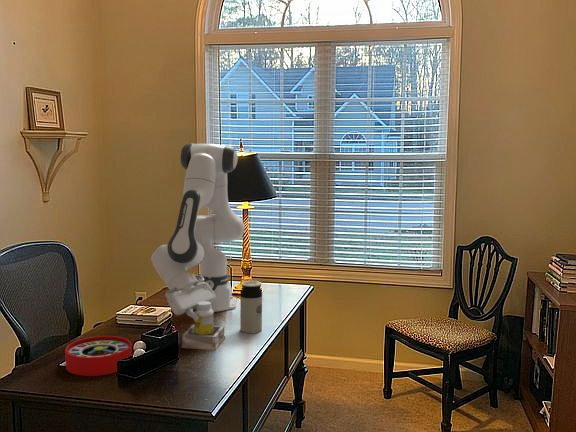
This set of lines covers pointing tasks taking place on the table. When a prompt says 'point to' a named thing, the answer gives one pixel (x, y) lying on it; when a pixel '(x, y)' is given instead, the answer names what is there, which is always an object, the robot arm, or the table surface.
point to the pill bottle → (204, 319)
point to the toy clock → (96, 355)
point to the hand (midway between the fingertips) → (205, 317)
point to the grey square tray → (203, 339)
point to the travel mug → (251, 307)
